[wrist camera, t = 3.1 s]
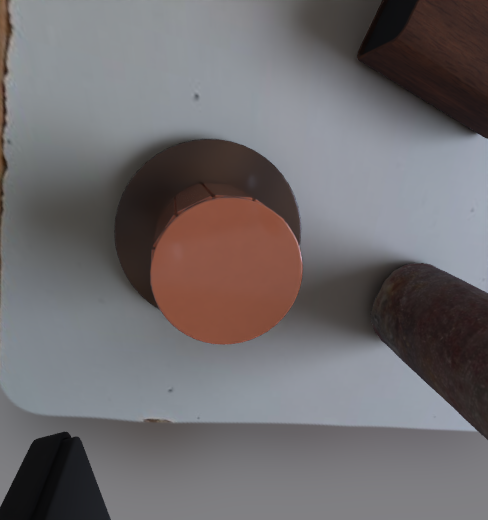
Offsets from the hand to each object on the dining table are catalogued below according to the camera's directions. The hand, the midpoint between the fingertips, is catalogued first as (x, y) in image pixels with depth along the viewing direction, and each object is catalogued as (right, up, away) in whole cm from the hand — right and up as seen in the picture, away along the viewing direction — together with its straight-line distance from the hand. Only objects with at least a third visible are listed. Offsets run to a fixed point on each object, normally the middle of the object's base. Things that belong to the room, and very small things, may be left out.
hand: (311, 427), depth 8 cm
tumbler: (-4, +5, +19) cm, 20 cm away
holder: (-4, +6, +20) cm, 21 cm away
